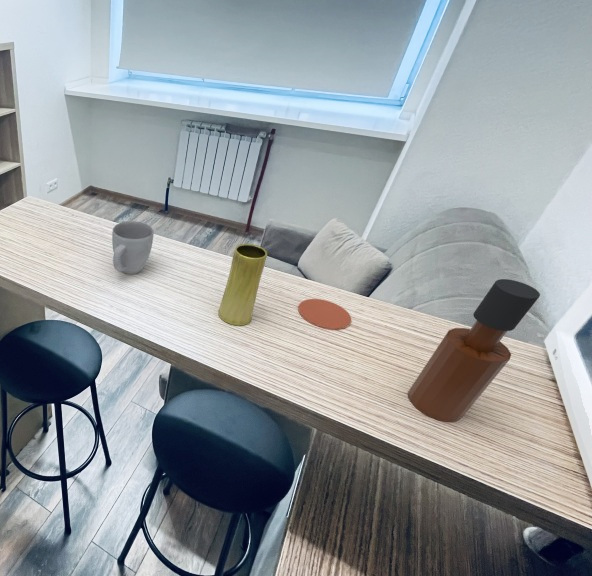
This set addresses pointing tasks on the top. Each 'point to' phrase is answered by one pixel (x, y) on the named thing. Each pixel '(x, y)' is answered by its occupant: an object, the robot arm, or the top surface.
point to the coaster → (324, 314)
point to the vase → (242, 284)
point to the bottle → (459, 372)
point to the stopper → (506, 304)
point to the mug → (131, 246)
